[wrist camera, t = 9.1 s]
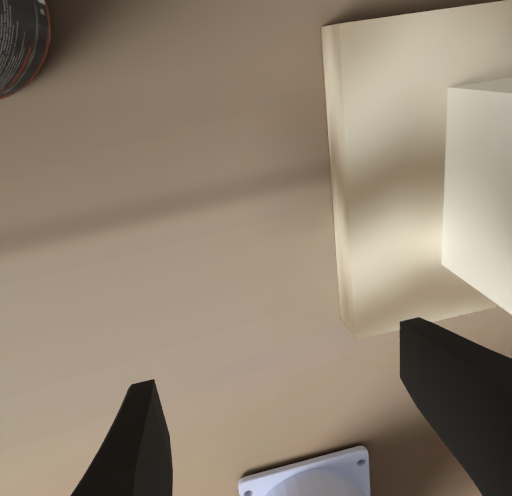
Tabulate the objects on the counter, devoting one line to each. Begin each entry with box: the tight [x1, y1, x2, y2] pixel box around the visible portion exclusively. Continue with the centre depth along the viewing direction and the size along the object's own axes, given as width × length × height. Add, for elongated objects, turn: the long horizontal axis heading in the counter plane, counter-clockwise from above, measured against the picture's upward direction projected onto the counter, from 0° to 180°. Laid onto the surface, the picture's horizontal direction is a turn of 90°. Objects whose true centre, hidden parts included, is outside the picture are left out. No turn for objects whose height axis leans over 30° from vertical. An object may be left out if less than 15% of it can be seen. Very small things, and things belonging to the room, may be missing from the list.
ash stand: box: [321, 0, 512, 340], centre depth 22 cm, size 14×14×2 cm
